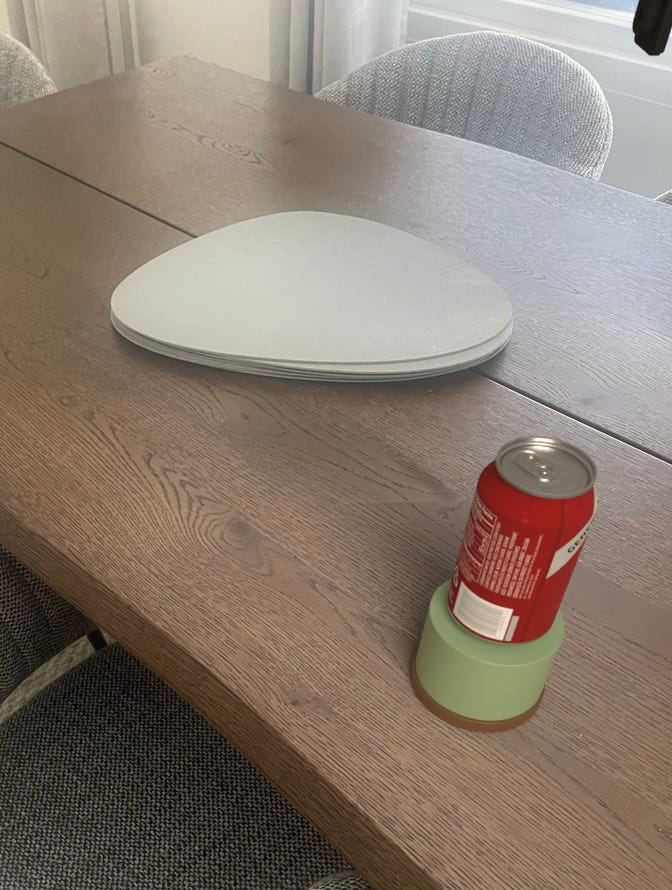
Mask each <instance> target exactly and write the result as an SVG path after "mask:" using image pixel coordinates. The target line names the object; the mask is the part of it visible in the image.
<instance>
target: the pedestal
mask: <svg viewBox="0 0 672 890" xmlns="http://www.w3.org/2000/svg"><path fill="white" fill-rule="evenodd" d="M451 580H452V577H451V578H449V579H447V580H446V581H445V582H443V583H441V584H440V586H438V587H437V589H436V590H435V591H434V592H433V594H432V596H431V599H430V602H429V605H428V609H427V612H426V618H425V621H424V625H423V628H422V633H421V636H420V641H419V645H418V646H417V648H416V649H415V652H414V654H413V657H412V662H411V665H410V670H409V671H410V672H409V673H410V675H409V677H410V683H411V686H412V689H413V691H414V693H415V695H416V697H417V698H418V700H419V701H420V703H421V704H422V705H423V706H424V707H425V708H426V709H427V710H428V711H429V712H430V713H431V714H433V715H434V716H436V717H437V718H439V719H440V720H442V721H444V723H445V722H446V723H447V724H449V725H451V726H454V727H457V728H460V729H462V730H465V731H470V732H478V733H501V732H506V731H510V730H513V729H516V728H518V727H519V726H522V725H523V724H525V723H527V722H528V721H529V720H530V719H531V718H532V717H533V716H535V714H536V713H537V711H538V709H539V707H540V706H541V703H542V700H543V698H544V695H545V691H546V682H547V680H548V677H549V675H550V672H551V670H552V667H553V665H554V663H555V660H556V658H557V655H558V652H559V650H560V647H561V645H562V643H563V642H564V641H563V640H564V637H565V629H566V628H565V627H566V626H565V622H564V618H563V614H562V612H561V611H560V609H559V610H558V612H557V615H556V617H555V620H554V622H553V625H552V627H551V629H550V630H549V631H548V632H547V634H546V635H544V636H543V637H542V638H540V639H538V640H536V641H534V642H532V643H528V644H524V645H517V646H506V645H498V644H493V643H489V642H486V641H483V640H481V639H478V638H476V637H474V636H473V635H471V634H469V633H468V632H466V631H465V630H464V629H462V628H461V627H460V626H459V625H458V624H457V623H456V622H455V620H454V619H453V618H452V616H451V614H450V612H449V609H448V605H447V595H448V592H449V588H450V584H451Z"/></svg>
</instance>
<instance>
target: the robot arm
mask: <svg viewBox="0 0 672 890" xmlns="http://www.w3.org/2000/svg"><path fill="white" fill-rule="evenodd" d="M631 27H632V29H631V30H632V33H633V34H634V38H633V41H634V43H635V45H636V46H638V47H639V48H640V49H641V50H642V51H643V52H644V53H645V54H646V55H647V56H649V57H660V55H661V54H664V53H665V51H666V48H667V45H668V41H669V38H670V36H671V33H672V0H638V2H637V5H636V9H635V13H634V16H633V20H632V25H631Z"/></svg>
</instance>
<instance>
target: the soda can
mask: <svg viewBox="0 0 672 890" xmlns="http://www.w3.org/2000/svg"><path fill="white" fill-rule="evenodd" d="M597 478H598V468H597V464H595V462H594V460H593V458H592V457H591V456H590V455H588V453H587V452H586V451H584V450H582V448H580V447H578V446H576V445H575V444H572V443H570V442H567V441H564V440H562V439H559V438H555V437H550V436H541V435H531V436H530V435H528V436H522V437H517V438H514V439H511V440H509V441H507V442H505V443H504V444H503V445H502V446H501V447H500V448H499V450H498V451H497V453H496V456H495V459H494V460H492V461H491V462H489V463H488V464H487V465H486V466H485V467H484V468H483V470H482V471H481V472H480V474H479V476H478V480H477V484H476V487H475V490H474V494H473V498H472V502H471V505H470V509H469V513H468V517H467V520H466V523H465V524H466V525H465V527H464V528H465V529H464V532H463V536H462V540H461V544H460V547H459V550H458V554H457V558H456V562H455V566H454V569H453V573H452V576H451V578H452V580H451V584H450V588H449V592H448V595H447V605H448V609H449V612H450V614H451V616H452V618H453V619H454V620H455V622H456V623H457V624H458V625H459V626H460V627H461V628H462V629H464V630H465V631H466V632H468V633H469V634H471V635H473V636H474V637H476V638H478V639H481V640H483V641H486V642H489V643H493V644H498V645H506V646H517V645H524V644H528V643H532V642H534V641H536V640H538V639H540V638H542V637H543V636H544V635H546V634H547V632H548V631H549V630H550V629H551V627H552V625H553V622H554V620H555V617H556V615H557V612H558V610H559V611H560V607H561V604H562V602H563V599H564V597H565V594H566V591H567V589H568V586H569V584H570V582H571V579H572V576H573V573H574V571H575V569H576V566H577V563H578V561H579V558H580V556H581V553H582V550H583V548H584V545H585V543H586V540H587V537H588V535H589V532H590V530H591V527H592V525H593V522H594V519H595V517H596V514H597V512H598V509H599V506H600V494H599V491H598V488H597V486H596V481H597Z"/></svg>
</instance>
